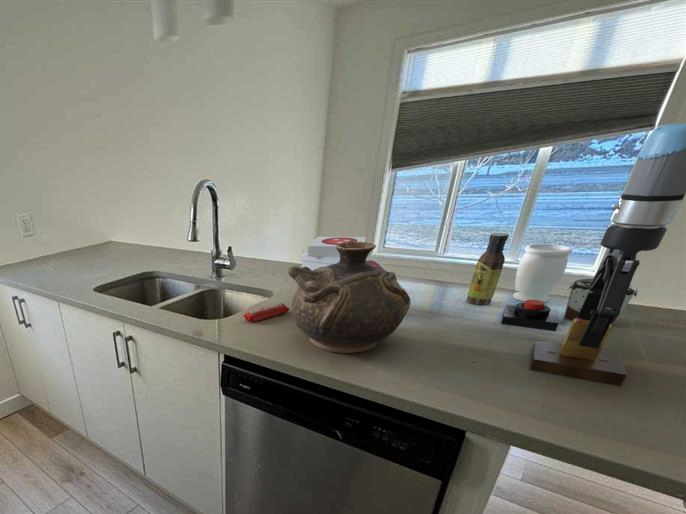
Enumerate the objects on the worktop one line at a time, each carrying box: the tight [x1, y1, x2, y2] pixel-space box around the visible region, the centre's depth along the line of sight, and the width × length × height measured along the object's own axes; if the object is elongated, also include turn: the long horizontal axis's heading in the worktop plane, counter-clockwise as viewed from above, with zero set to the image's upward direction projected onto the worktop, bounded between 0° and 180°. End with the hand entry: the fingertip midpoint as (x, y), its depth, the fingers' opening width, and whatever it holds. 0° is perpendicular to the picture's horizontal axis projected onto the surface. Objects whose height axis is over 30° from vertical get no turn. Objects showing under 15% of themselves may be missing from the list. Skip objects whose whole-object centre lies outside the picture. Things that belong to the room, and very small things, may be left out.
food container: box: [562, 278, 639, 328], centre depth 103 cm, size 12×6×10 cm, turn 48°
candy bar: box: [242, 302, 291, 323], centre depth 125 cm, size 16×4×3 cm, turn 114°
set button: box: [523, 300, 546, 310], centre depth 105 cm, size 4×4×2 cm
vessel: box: [287, 241, 411, 354], centre depth 101 cm, size 27×28×25 cm
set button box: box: [500, 302, 559, 332], centre depth 107 cm, size 11×10×4 cm
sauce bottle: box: [466, 232, 509, 306], centre depth 117 cm, size 6×6×20 cm
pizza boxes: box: [301, 235, 406, 291], centre depth 129 cm, size 19×30×18 cm, turn 41°
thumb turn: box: [560, 318, 613, 361], centre depth 83 cm, size 6×2×8 cm, turn 52°
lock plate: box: [529, 340, 628, 387], centre depth 86 cm, size 14×11×3 cm
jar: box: [512, 243, 574, 303], centre depth 117 cm, size 11×10×15 cm
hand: (585, 334), depth 83 cm, fingers open, 13 cm apart
